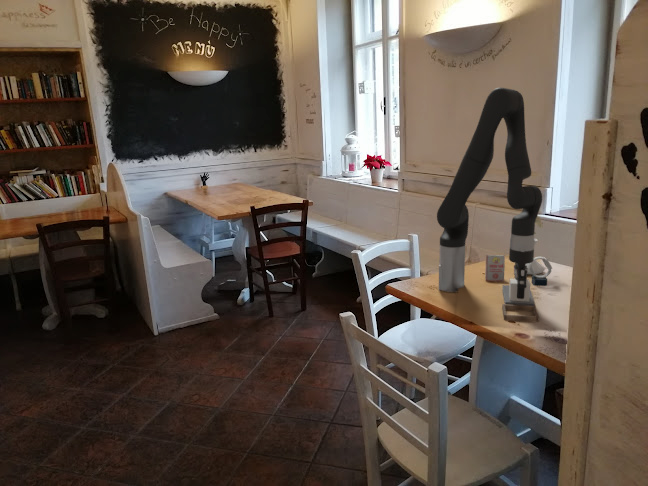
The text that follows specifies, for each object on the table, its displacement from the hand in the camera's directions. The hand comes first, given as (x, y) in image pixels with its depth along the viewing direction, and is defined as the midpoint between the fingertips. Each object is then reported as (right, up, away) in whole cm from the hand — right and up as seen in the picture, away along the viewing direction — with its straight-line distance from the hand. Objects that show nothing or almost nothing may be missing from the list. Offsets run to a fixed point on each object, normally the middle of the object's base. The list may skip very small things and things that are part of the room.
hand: (519, 293), depth 171 cm
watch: (+16, +1, +22) cm, 27 cm away
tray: (-3, -7, -8) cm, 11 cm away
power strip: (+1, -4, +5) cm, 7 cm away
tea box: (+2, +2, +30) cm, 30 cm away
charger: (0, -3, +1) cm, 4 cm away
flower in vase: (+19, +5, +38) cm, 42 cm away
